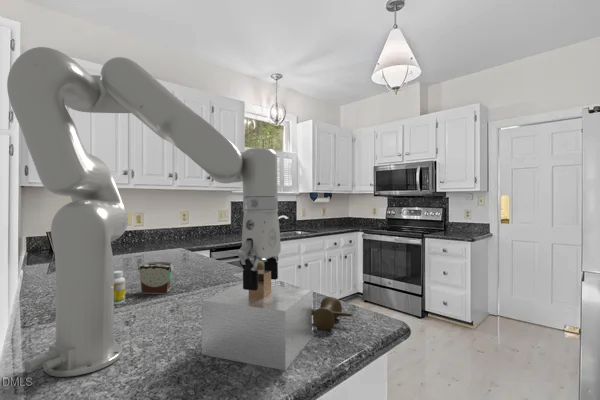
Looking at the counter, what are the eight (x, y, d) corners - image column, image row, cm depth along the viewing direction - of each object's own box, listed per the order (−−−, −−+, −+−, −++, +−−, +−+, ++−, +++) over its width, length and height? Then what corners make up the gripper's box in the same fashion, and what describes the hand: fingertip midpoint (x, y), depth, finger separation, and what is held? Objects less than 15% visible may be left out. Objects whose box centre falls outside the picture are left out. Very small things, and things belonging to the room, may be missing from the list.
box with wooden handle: (285, 370, 59) (285, 283, 60) (201, 354, 66) (202, 276, 66) (311, 337, 74) (311, 268, 74) (241, 327, 80) (241, 263, 81)
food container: (179, 289, 116) (180, 261, 117) (171, 294, 110) (171, 265, 110) (147, 288, 118) (147, 261, 118) (137, 293, 112) (137, 264, 112)
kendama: (285, 314, 92) (355, 319, 86) (272, 327, 83) (349, 334, 77) (284, 293, 92) (354, 297, 86) (271, 304, 83) (348, 309, 77)
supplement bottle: (128, 301, 102) (129, 271, 102) (111, 306, 97) (112, 274, 97) (118, 299, 105) (119, 269, 105) (101, 303, 100) (102, 272, 100)
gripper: (257, 205, 61) (258, 296, 61) (291, 205, 77) (292, 276, 77) (223, 206, 64) (224, 293, 63) (263, 205, 80) (263, 274, 80)
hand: (261, 283), depth 70 cm, fingers open, 9 cm apart
